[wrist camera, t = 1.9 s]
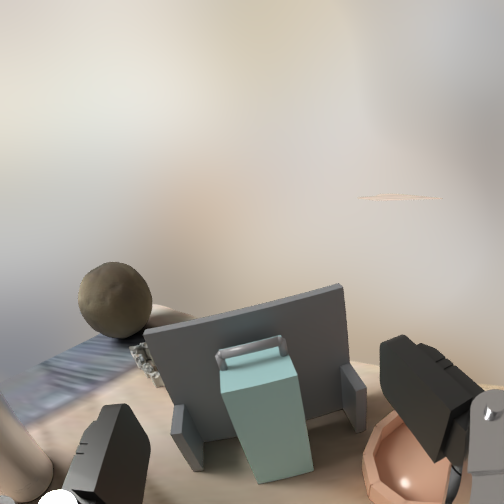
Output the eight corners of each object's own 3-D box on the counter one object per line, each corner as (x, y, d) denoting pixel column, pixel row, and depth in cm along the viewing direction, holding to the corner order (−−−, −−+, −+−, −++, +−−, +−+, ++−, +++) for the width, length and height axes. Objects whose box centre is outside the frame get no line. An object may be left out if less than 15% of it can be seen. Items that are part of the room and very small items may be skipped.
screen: (365, 429, 24) (363, 305, 21) (193, 471, 23) (132, 361, 20) (348, 399, 29) (338, 283, 26) (194, 437, 28) (145, 329, 25)
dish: (340, 510, 16) (340, 498, 16) (386, 407, 26) (387, 391, 26) (487, 522, 9) (499, 510, 9) (498, 412, 19) (504, 394, 18)
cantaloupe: (104, 329, 61) (80, 265, 57) (162, 313, 64) (141, 247, 60) (91, 361, 47) (58, 285, 44) (161, 344, 50) (133, 264, 46)
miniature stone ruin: (202, 372, 41) (193, 349, 40) (156, 395, 37) (145, 372, 36) (173, 346, 50) (165, 325, 48) (134, 364, 46) (125, 343, 44)
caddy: (313, 470, 21) (293, 356, 18) (258, 484, 21) (214, 375, 18) (300, 430, 27) (277, 318, 23) (251, 442, 26) (213, 333, 23)
